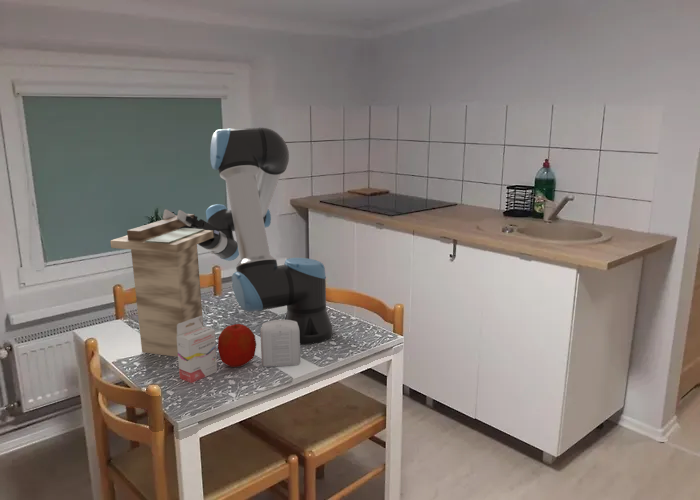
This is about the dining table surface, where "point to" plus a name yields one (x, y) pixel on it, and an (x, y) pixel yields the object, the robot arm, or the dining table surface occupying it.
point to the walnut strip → (155, 228)
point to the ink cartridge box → (196, 350)
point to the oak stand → (165, 284)
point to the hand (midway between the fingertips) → (171, 214)
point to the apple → (236, 345)
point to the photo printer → (280, 343)
